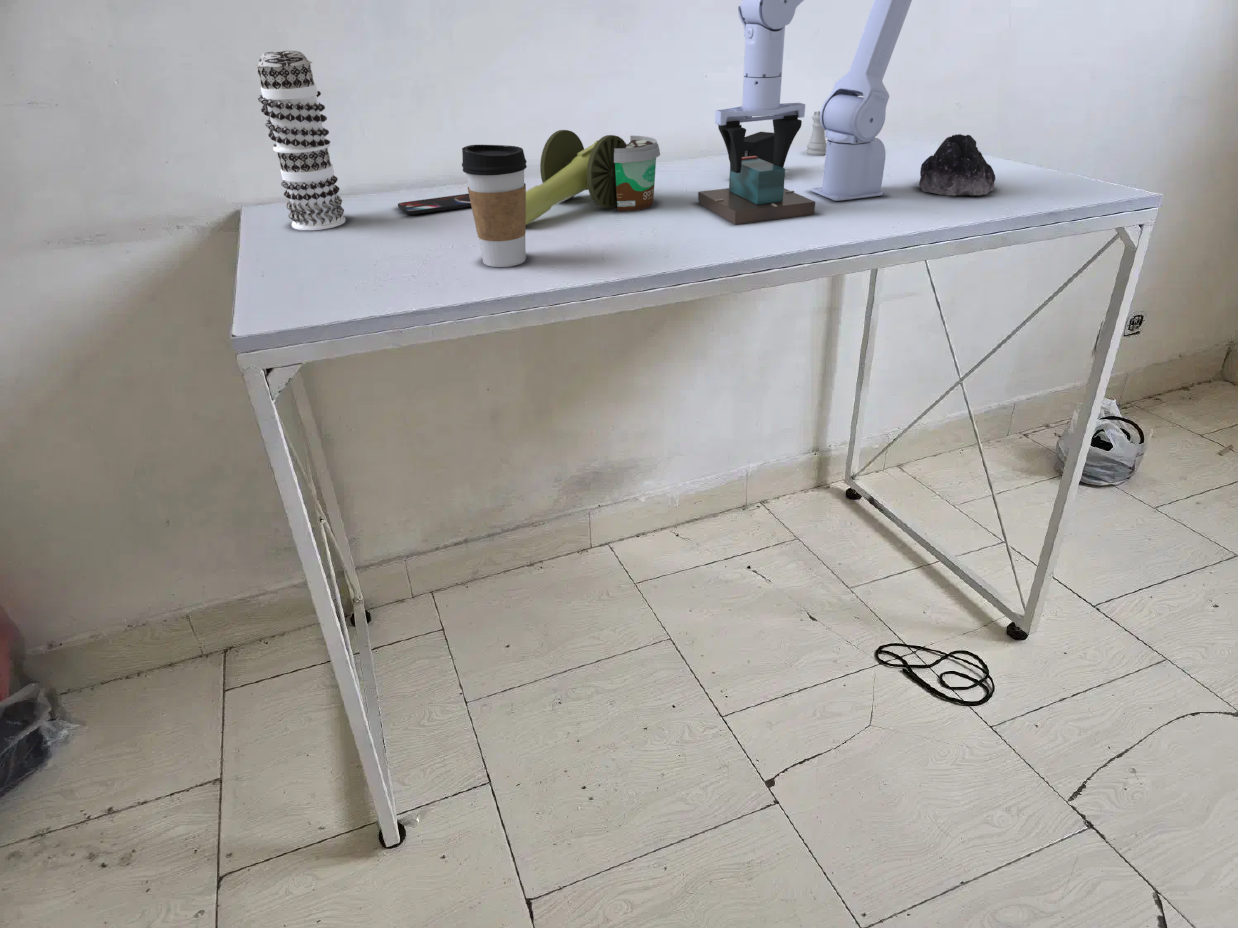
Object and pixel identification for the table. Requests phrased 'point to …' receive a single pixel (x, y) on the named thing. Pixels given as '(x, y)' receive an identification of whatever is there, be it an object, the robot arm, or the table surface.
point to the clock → (754, 206)
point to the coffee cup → (498, 201)
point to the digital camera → (759, 146)
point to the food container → (636, 173)
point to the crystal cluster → (957, 169)
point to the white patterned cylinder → (299, 140)
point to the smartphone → (435, 204)
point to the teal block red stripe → (758, 181)
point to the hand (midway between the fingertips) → (757, 169)
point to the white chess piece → (817, 138)
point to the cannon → (574, 173)
